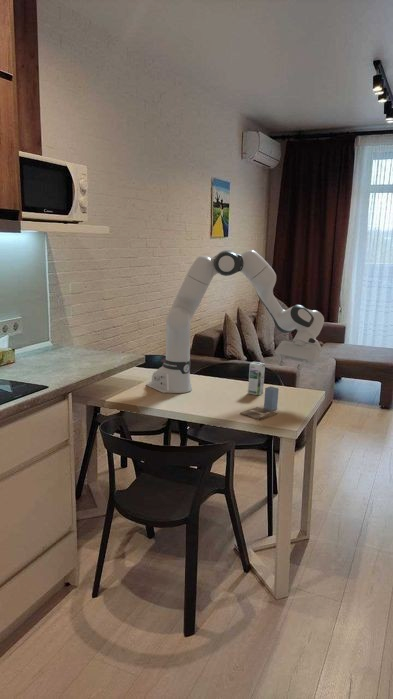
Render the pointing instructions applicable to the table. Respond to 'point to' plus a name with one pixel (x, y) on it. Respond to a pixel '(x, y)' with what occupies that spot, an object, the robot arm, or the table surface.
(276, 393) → the slate block
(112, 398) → the table surface
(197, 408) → the table surface
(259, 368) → the syrup box
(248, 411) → the letter card
